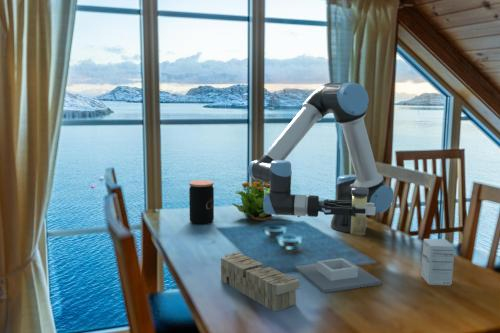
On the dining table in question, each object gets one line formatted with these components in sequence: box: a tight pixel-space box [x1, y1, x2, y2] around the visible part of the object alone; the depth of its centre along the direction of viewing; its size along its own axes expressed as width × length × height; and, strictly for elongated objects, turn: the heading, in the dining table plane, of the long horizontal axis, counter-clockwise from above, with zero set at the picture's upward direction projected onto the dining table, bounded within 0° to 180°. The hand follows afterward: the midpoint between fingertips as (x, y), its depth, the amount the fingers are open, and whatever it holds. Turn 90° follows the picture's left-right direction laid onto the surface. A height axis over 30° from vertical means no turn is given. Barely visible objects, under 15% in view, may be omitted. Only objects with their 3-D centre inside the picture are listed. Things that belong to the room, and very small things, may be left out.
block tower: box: [220, 251, 300, 312], centre depth 142 cm, size 8×8×29 cm
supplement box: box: [420, 238, 456, 286], centre depth 151 cm, size 7×7×13 cm
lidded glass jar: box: [350, 187, 369, 236], centre depth 169 cm, size 6×6×16 cm
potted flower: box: [231, 181, 273, 221], centre depth 222 cm, size 25×24×18 cm
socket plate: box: [294, 257, 383, 294], centre depth 154 cm, size 20×20×4 cm
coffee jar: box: [188, 179, 215, 226], centre depth 214 cm, size 11×11×18 cm
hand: (374, 209), depth 168 cm, fingers closed on lidded glass jar, 5 cm apart
